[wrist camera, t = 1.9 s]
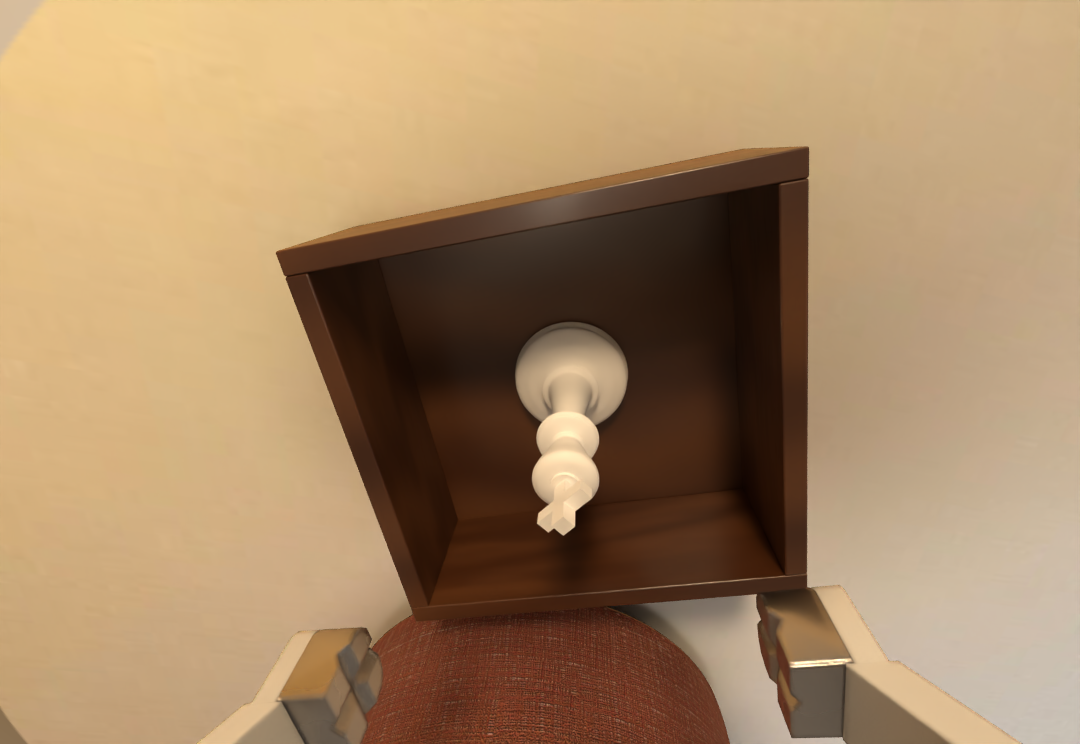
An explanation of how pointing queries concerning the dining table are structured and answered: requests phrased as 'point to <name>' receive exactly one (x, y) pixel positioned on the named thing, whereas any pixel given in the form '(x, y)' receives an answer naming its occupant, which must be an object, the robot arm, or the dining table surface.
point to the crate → (624, 438)
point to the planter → (540, 683)
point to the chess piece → (569, 411)
